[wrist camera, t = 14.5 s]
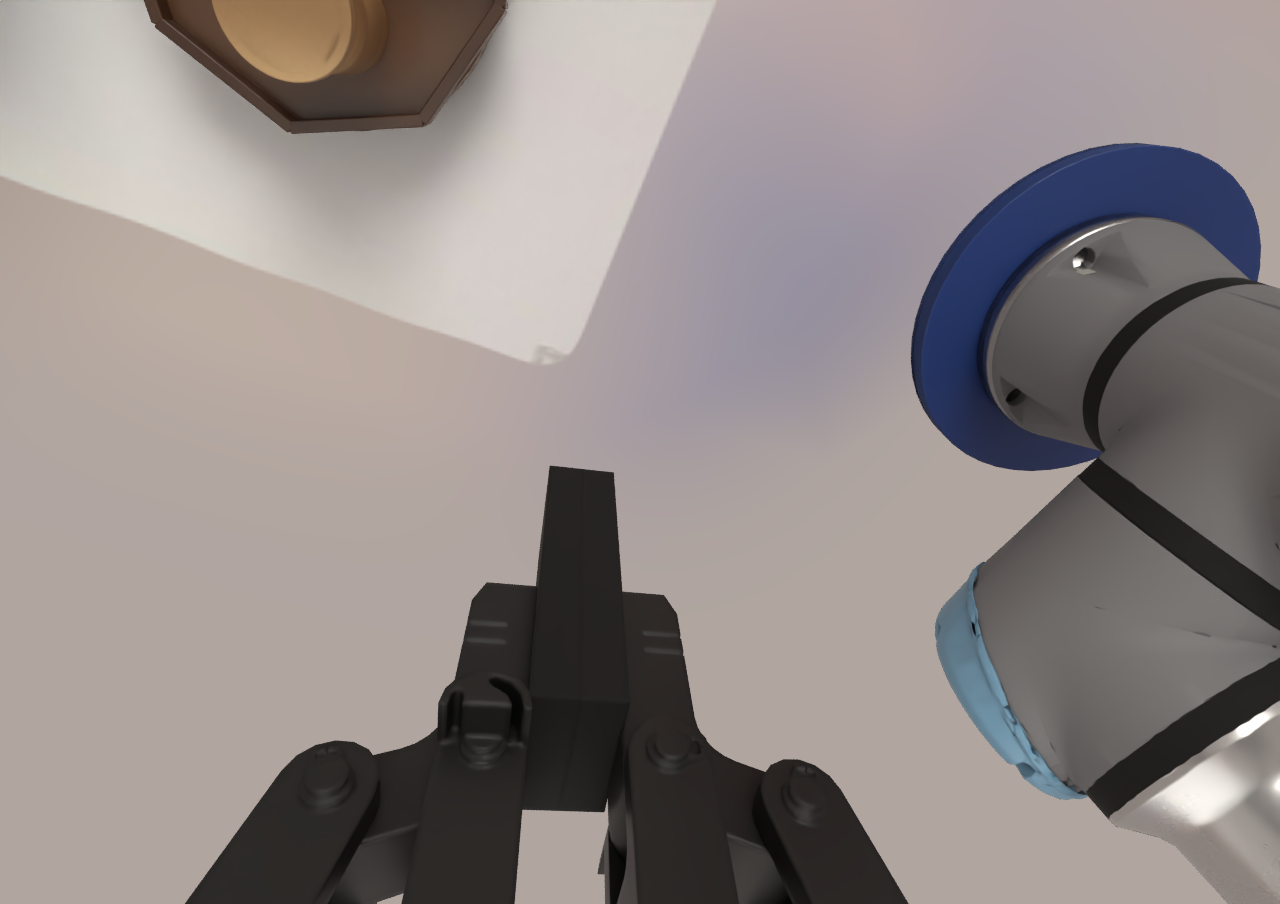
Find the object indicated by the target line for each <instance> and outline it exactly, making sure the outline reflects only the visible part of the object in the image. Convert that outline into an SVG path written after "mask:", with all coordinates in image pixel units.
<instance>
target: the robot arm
mask: <svg viewBox="0 0 1280 904" xmlns="http://www.w3.org/2000/svg"><path fill="white" fill-rule="evenodd" d="M977 368H978V375H979V378H980V382H981V385H982V387H983V390H984V392H985V394H986V395H987V397H988V399H989V400H990V401H991V403H992V404H993V405H994V406H995V407H996V408H997V409H998V410H999V411H1000V412H1002V413H1003V414H1004V415H1005V416H1007V417H1008V418H1009V419H1010V420H1012V421H1013V422H1014V423H1015V424H1017V425H1018V426H1019V427H1021V428H1023V429H1025V430H1026V431H1029V432H1031V433H1033V434H1037V435H1040V436H1044V437H1049V438H1053V439H1057V440H1060V441H1064V442H1068V443H1072V444H1076V445H1080V446H1083V447H1087V448H1091V449H1095V450H1099V451H1101V452H1102V454H1101V455H1100V456H1098V458H1097V459H1096V460H1095V461H1094V462H1093V463H1092V464H1091V465H1089V466H1088V467H1087V468H1086V469H1085V470H1084V471H1083V472H1082V473H1081V474H1080V475H1078V476H1077V477H1076V478H1075V479H1074V480H1073V481H1072V482H1071V483H1070V484H1068V485H1067V486H1066V487H1065V488H1064V489H1063V490H1062V491H1061V492H1060V493H1059V494H1058V495H1057V496H1056V497H1055V498H1054V499H1053V500H1052V501H1050V502H1049V503H1048V505H1046V506H1045V507H1044V508H1043V509H1042V510H1041V511H1040V512H1039V513H1038V514H1037V515H1036V516H1035V517H1034V518H1033V519H1031V520H1030V521H1029V522H1028V523H1027V524H1026V525H1025V526H1024V527H1023V528H1022V529H1021V530H1020V531H1019V532H1018V533H1017V534H1016V535H1015V536H1014V537H1013V538H1011V539H1010V540H1009V541H1008V542H1007V543H1006V544H1005V545H1004V546H1003V547H1002V548H1000V549H999V550H998V551H997V552H996V553H995V554H994V555H993V556H992V557H991V558H990V559H988V560H987V561H986V562H982V563H981V564H979V565H978V566H977V567H976V568H975V569H973V570H972V572H971V574H970V576H969V578H968V580H967V581H966V582H965V583H964V584H963V585H962V587H961V588H960V589H959V590H958V591H957V592H956V593H955V594H954V595H953V596H952V597H951V598H950V599H949V600H948V601H947V602H946V604H945V605H944V606H943V607H942V608H941V610H940V612H939V614H938V617H937V620H936V625H935V637H936V640H937V642H936V647H937V652H938V656H939V659H940V662H941V665H942V667H943V670H944V672H945V675H946V677H947V679H948V681H949V683H950V685H951V687H952V689H953V691H954V693H955V694H956V696H957V698H958V700H959V701H960V703H961V704H962V706H963V708H964V709H965V711H966V712H967V714H968V715H969V717H970V718H971V720H972V721H973V723H974V724H975V725H976V727H977V728H978V730H979V731H980V732H981V734H982V735H983V736H984V737H985V739H986V740H987V741H988V742H989V743H990V745H991V746H992V747H993V748H994V749H995V750H996V751H997V753H998V754H999V755H1000V756H1001V757H1002V758H1003V759H1004V760H1005V761H1006V762H1007V763H1009V764H1013V765H1014V764H1015V765H1016V767H1017V768H1018V770H1019V771H1020V773H1021V775H1022V776H1023V778H1024V779H1025V780H1027V781H1028V782H1029V783H1030V784H1032V785H1033V786H1034V787H1036V788H1038V789H1039V790H1040V791H1042V792H1044V793H1046V794H1048V795H1050V796H1053V797H1056V798H1058V799H1064V800H1068V799H1083V798H1086V797H1087V796H1089V798H1090V799H1091V800H1092V801H1093V802H1094V803H1095V804H1096V806H1097V807H1098V808H1099V809H1100V810H1101V811H1102V812H1103V814H1104V815H1105V816H1106V817H1107V818H1108V819H1109V820H1110V821H1111V822H1112V823H1113V824H1114V825H1115V826H1116V827H1120V828H1124V829H1128V830H1132V831H1136V832H1139V833H1143V834H1147V835H1151V836H1155V837H1159V838H1161V839H1163V840H1165V841H1167V842H1168V843H1170V844H1172V845H1174V846H1176V848H1177V849H1178V850H1179V851H1180V852H1181V853H1182V854H1183V855H1184V856H1185V857H1186V858H1187V860H1188V861H1189V862H1190V863H1191V864H1192V865H1193V866H1194V867H1195V868H1196V869H1197V870H1198V871H1199V873H1200V874H1201V875H1202V876H1203V877H1204V878H1205V879H1206V880H1207V881H1208V882H1209V883H1210V885H1212V887H1213V888H1214V889H1215V890H1216V891H1217V892H1218V893H1219V894H1220V895H1221V897H1222V898H1223V899H1224V900H1225V901H1226V902H1227V903H1228V904H1280V289H1279V288H1276V287H1273V286H1269V285H1266V284H1262V283H1259V282H1256V281H1253V280H1250V279H1249V278H1248V277H1247V276H1245V275H1244V274H1243V273H1242V272H1241V271H1240V270H1239V269H1238V268H1237V267H1236V266H1234V265H1233V264H1232V263H1231V262H1230V261H1229V260H1228V259H1227V258H1226V257H1225V256H1223V255H1222V254H1221V253H1220V252H1219V251H1218V250H1217V249H1216V248H1215V247H1214V246H1212V245H1211V244H1210V243H1209V242H1208V241H1207V240H1206V239H1205V238H1204V237H1203V236H1202V235H1201V234H1199V233H1198V232H1197V231H1195V230H1194V229H1192V228H1190V227H1189V226H1186V225H1184V224H1181V223H1179V222H1175V221H1171V220H1167V219H1163V218H1159V217H1155V216H1151V215H1147V214H1139V213H1120V214H1111V215H1106V216H1101V217H1098V218H1094V219H1091V220H1088V221H1085V222H1083V223H1080V224H1077V225H1075V226H1073V227H1071V228H1069V229H1067V230H1065V231H1063V232H1062V233H1060V234H1058V235H1057V236H1055V237H1053V238H1052V239H1050V240H1049V241H1047V242H1046V243H1044V244H1043V245H1042V246H1041V247H1039V248H1038V249H1037V250H1036V251H1034V252H1033V253H1032V254H1031V255H1030V256H1029V257H1028V258H1026V259H1025V260H1024V261H1023V262H1022V263H1021V264H1020V265H1019V266H1018V268H1017V269H1016V270H1015V271H1014V272H1013V273H1012V274H1011V276H1010V277H1009V278H1008V279H1007V280H1006V282H1005V283H1004V285H1003V286H1002V288H1001V289H1000V290H999V292H998V293H997V295H996V297H995V299H994V300H993V302H992V304H991V306H990V308H989V310H988V312H987V314H986V317H985V320H984V322H983V325H982V329H981V332H980V336H979V341H978V348H977ZM607 798H608V816H609V817H608V819H609V826H608V829H607V834H606V837H605V842H604V846H603V850H602V854H601V858H600V863H599V868H598V874H604V873H605V904H908V902H907V900H906V899H905V897H904V896H903V894H902V892H901V890H900V889H899V887H898V885H897V883H896V882H895V880H894V878H893V877H892V875H891V874H890V872H889V870H888V868H887V867H886V865H885V863H884V862H883V860H882V858H881V857H880V855H879V853H878V852H877V850H876V848H875V847H874V845H873V843H872V842H871V840H870V838H869V836H868V835H867V833H866V832H865V830H864V828H863V826H862V825H861V823H860V821H859V820H858V818H857V816H856V815H855V813H854V811H853V810H852V808H851V806H850V804H849V803H848V801H847V799H846V798H845V796H844V794H843V793H842V791H841V790H840V788H839V787H838V786H837V785H836V783H835V782H834V781H833V780H832V778H831V777H830V776H829V775H827V774H826V773H825V772H823V771H822V770H820V769H819V768H818V767H816V766H815V765H812V764H810V763H806V762H804V761H801V760H786V759H785V760H781V761H779V762H777V763H774V764H772V765H771V766H770V767H769V768H768V770H767V771H766V772H764V771H761V770H758V769H755V768H753V767H749V766H747V765H744V764H741V763H739V762H736V761H734V760H732V759H730V758H727V757H725V756H723V755H722V754H721V753H719V752H718V751H716V750H715V749H714V748H713V747H712V746H710V744H709V743H708V742H707V740H706V738H705V737H704V736H703V735H702V734H701V732H700V731H699V729H698V727H697V724H696V721H695V717H694V711H693V706H692V700H691V694H690V688H689V682H688V676H687V670H686V664H685V659H684V656H683V647H682V641H681V639H680V629H679V623H678V618H677V614H676V612H675V611H674V609H673V608H672V606H671V605H670V603H669V602H668V600H667V599H666V598H665V596H664V595H656V594H644V593H632V592H622V581H621V567H620V554H619V540H618V527H617V512H616V498H615V485H614V473H613V472H604V471H595V470H585V469H575V468H567V467H558V466H550V468H549V477H548V485H547V494H546V502H545V511H544V519H543V526H542V535H541V544H540V551H539V560H538V571H537V581H536V586H525V585H513V584H500V583H486V584H485V585H484V586H483V588H482V589H481V590H480V591H479V592H478V593H477V595H476V596H475V597H474V598H473V600H472V603H471V607H470V612H469V616H468V621H467V626H466V630H465V635H464V641H463V645H462V649H461V654H460V658H459V663H458V667H457V672H456V677H455V680H454V681H453V682H452V683H451V684H450V685H449V686H447V687H446V688H445V690H444V692H443V694H442V696H441V698H440V700H439V703H438V727H437V728H436V729H435V730H434V731H433V732H432V733H431V734H430V735H429V736H427V737H425V738H424V739H422V740H421V741H419V742H417V743H415V744H412V745H410V746H407V747H404V748H401V749H397V750H393V751H389V752H385V753H381V754H377V755H372V753H371V752H370V751H369V749H367V748H365V747H363V746H361V745H359V744H357V743H355V742H347V741H332V742H327V743H323V744H318V745H315V746H313V747H311V748H309V749H308V750H306V751H304V752H302V753H300V754H299V755H297V756H296V757H295V758H294V759H293V760H292V761H291V762H290V763H289V764H288V765H287V766H286V767H285V768H284V769H283V770H282V771H281V772H280V773H279V775H278V776H277V778H276V779H275V780H274V782H273V783H272V785H271V786H270V787H269V789H268V790H267V792H266V793H265V794H264V795H263V797H262V798H261V800H260V801H259V802H258V804H257V805H256V807H255V808H254V809H253V811H252V812H251V813H250V815H249V816H248V818H247V819H246V820H245V822H244V823H243V824H242V826H241V827H240V829H239V830H238V831H237V833H236V834H235V835H234V837H233V838H232V840H231V841H230V842H229V844H228V845H227V847H226V848H225V849H224V851H223V852H222V854H221V855H220V856H219V857H218V859H217V860H216V862H215V863H214V865H213V866H212V867H211V869H210V870H209V871H208V873H207V874H206V875H205V877H204V878H203V880H202V881H201V882H200V884H199V885H198V886H197V888H196V889H195V891H194V892H193V893H192V895H191V896H190V897H189V899H188V900H187V902H186V903H185V904H377V902H379V901H382V900H385V899H387V898H391V897H394V896H396V895H399V894H402V893H404V895H403V900H402V904H514V901H515V891H516V878H517V866H518V854H519V842H520V830H521V818H522V817H521V816H522V810H551V811H583V812H604V811H605V807H606V802H607Z"/></svg>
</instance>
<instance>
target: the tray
mask: <svg viewBox="0 0 1280 904" xmlns="http://www.w3.org/2000/svg"><path fill="white" fill-rule="evenodd" d="M144 2H145V5H146V8H147V11H148V13H149V16H150V19H151V22H152V23H154V24H156V25H155V28H156V29H158V30H159V31H160V32H162V33H163V34H164V35H165V36H167V37H168V38H169V39H170V40H172V41H173V42H174V43H175V44H177V45H178V46H179V47H180V48H182V49H183V50H184V51H185V52H187V53H188V54H189V55H191V56H192V57H193V58H194V59H196V60H197V61H198V62H199V63H201V64H202V65H203V66H204V67H206V68H207V69H208V70H209V71H211V72H212V73H213V74H214V75H216V76H217V77H218V78H220V79H221V80H222V81H223V82H225V83H226V84H227V85H228V86H230V87H231V88H232V89H233V90H235V91H236V92H237V93H238V94H240V95H241V96H242V97H243V98H245V99H246V100H247V101H249V102H250V103H251V104H252V105H254V106H255V107H256V108H257V109H259V110H260V111H261V112H262V113H264V114H265V115H266V116H267V117H269V118H270V119H271V120H272V121H274V122H275V123H276V124H278V125H279V126H280V127H281V128H283V129H284V130H285V131H286V132H291V133H292V134H300V133H319V132H338V131H369V130H377V129H394V128H413V127H424V126H427V125H428V124H430V123H431V122H432V121H433V119H434V118H435V116H436V115H437V113H438V112H439V110H440V109H441V108H442V106H443V105H444V103H445V102H446V100H447V99H448V97H449V96H451V95H452V94H453V93H454V92H455V91H456V90H457V89H458V88H459V87H460V86H461V84H462V83H463V82H464V81H465V79H466V78H467V77H468V76H469V75H470V73H471V72H472V71H473V69H474V67H475V65H476V64H477V62H478V60H479V59H480V57H481V55H482V54H483V52H484V49H485V47H486V45H487V42H488V40H489V38H490V37H491V35H492V34H493V32H494V31H495V29H496V28H497V27H498V25H499V24H500V22H501V21H502V19H503V18H504V16H505V15H506V14H507V11H506V10H505V9H507V8H508V3H507V0H144Z"/></svg>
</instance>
